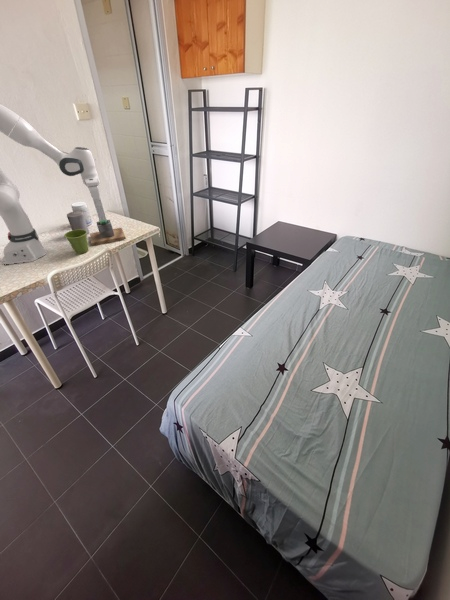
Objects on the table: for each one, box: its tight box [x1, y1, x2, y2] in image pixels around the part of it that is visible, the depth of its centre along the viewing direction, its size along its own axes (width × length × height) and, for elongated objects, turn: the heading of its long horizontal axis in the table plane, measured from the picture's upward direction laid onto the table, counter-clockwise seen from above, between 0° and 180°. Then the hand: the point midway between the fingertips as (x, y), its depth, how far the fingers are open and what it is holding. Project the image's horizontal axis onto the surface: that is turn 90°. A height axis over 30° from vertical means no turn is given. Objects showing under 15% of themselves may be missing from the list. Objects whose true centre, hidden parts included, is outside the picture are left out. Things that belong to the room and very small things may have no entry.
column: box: [92, 198, 108, 225], centre depth 170 cm, size 5×5×21 cm
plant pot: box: [63, 229, 89, 255], centre depth 162 cm, size 12×12×11 cm
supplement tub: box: [70, 201, 93, 227], centre depth 196 cm, size 10×10×15 cm
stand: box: [89, 219, 127, 247], centre depth 177 cm, size 20×16×11 cm
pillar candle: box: [66, 211, 90, 235], centre depth 182 cm, size 10×10×15 cm
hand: (98, 204), depth 168 cm, fingers closed on column, 4 cm apart
